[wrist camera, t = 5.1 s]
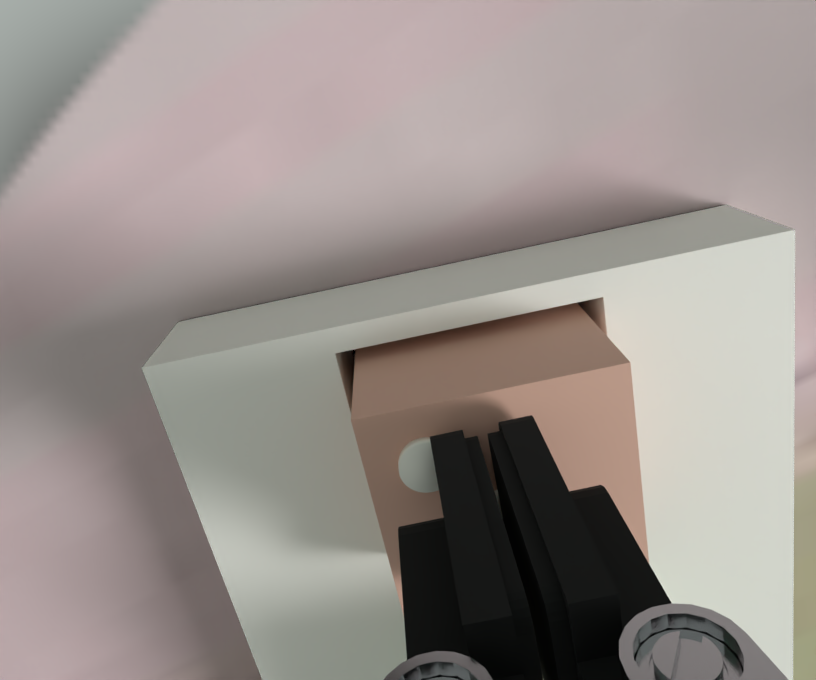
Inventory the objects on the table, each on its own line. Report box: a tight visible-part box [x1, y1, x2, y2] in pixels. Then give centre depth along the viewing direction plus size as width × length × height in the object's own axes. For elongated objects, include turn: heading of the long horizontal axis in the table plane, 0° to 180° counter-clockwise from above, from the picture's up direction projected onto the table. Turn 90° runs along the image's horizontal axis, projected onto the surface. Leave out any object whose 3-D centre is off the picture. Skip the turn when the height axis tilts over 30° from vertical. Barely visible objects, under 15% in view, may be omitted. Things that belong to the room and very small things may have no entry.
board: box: [142, 205, 795, 680], centre depth 17 cm, size 18×12×2 cm, turn 12°
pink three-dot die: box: [351, 303, 649, 616], centre depth 13 cm, size 4×4×4 cm
